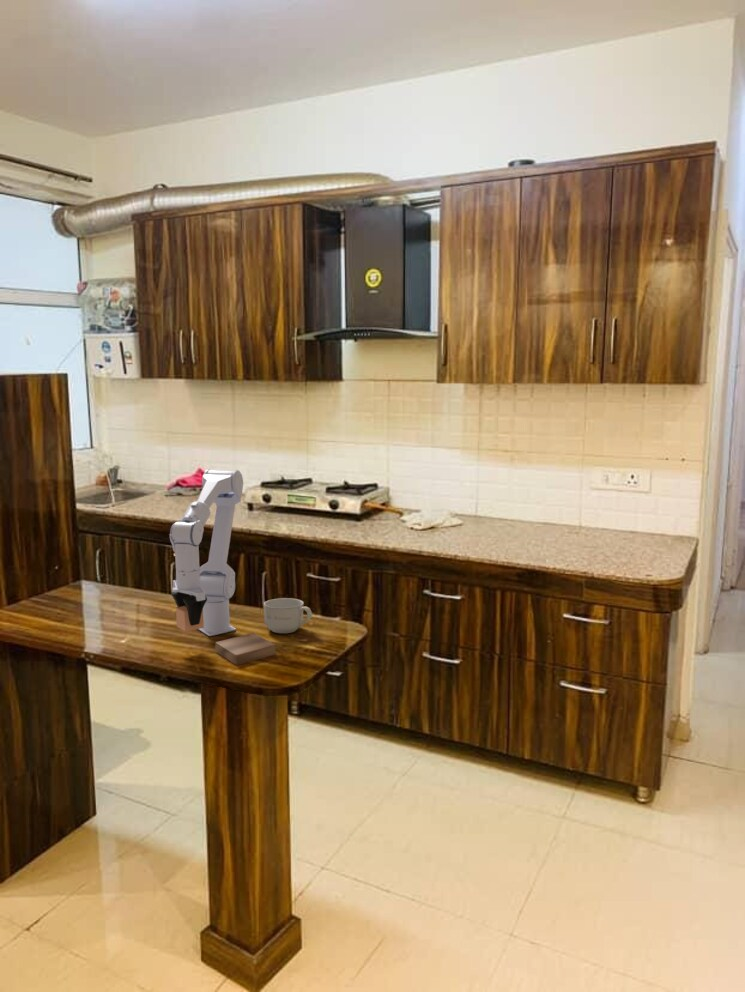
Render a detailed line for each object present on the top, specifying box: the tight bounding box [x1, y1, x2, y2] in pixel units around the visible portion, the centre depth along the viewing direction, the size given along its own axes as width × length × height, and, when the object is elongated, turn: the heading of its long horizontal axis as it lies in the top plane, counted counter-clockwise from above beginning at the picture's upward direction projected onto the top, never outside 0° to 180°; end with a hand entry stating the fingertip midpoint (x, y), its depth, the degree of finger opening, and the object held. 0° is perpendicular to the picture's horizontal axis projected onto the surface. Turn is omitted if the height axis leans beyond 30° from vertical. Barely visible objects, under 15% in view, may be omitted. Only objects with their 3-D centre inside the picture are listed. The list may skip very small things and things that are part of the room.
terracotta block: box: [175, 606, 204, 633], centre depth 190 cm, size 5×5×5 cm
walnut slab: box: [214, 632, 277, 666], centre depth 190 cm, size 11×11×3 cm
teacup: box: [263, 597, 313, 634], centre depth 205 cm, size 14×11×8 cm
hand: (190, 621), depth 190 cm, fingers closed on terracotta block, 5 cm apart
